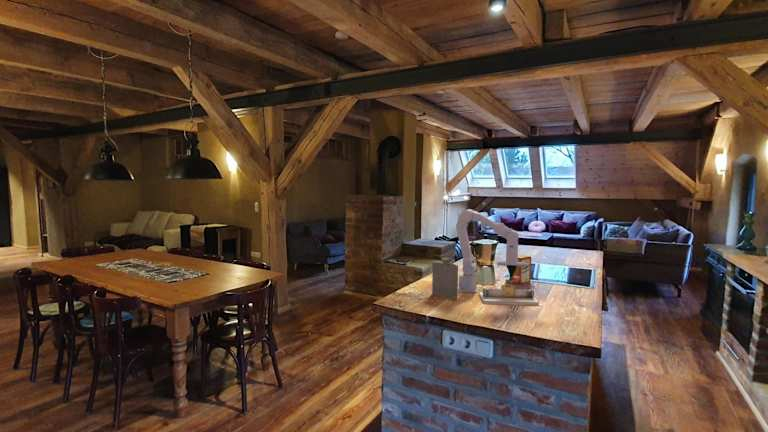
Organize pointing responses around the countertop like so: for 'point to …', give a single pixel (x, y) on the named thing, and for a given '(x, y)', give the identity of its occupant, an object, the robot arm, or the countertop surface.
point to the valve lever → (513, 279)
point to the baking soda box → (523, 270)
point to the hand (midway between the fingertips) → (510, 279)
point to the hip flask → (445, 279)
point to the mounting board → (508, 300)
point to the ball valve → (508, 292)
